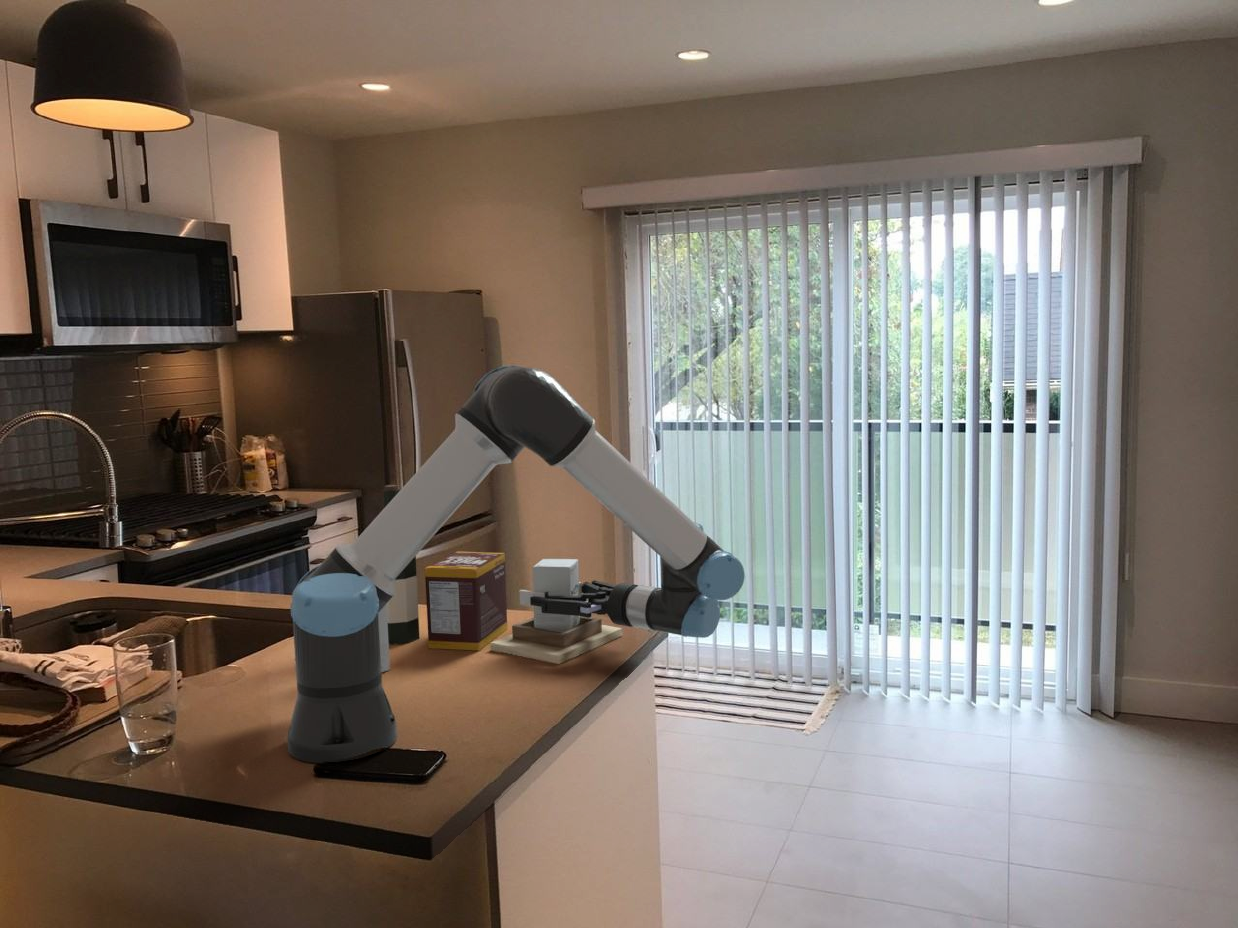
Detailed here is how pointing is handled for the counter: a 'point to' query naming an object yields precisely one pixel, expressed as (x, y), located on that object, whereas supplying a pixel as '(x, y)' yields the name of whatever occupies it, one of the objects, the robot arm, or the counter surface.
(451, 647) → the supplement box
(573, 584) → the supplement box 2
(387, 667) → the skincare box
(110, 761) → the counter surface
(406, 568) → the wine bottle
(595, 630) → the dock
